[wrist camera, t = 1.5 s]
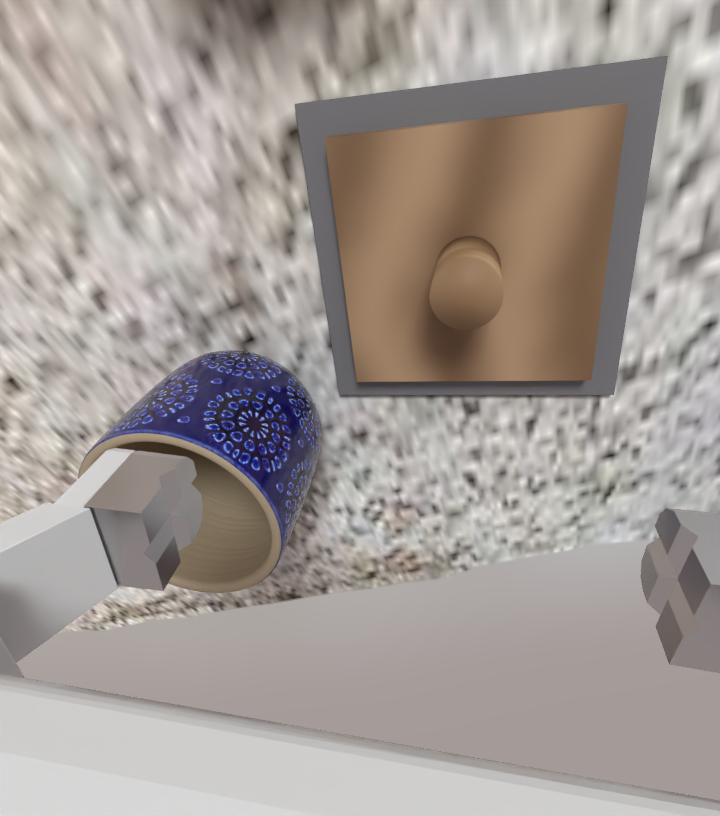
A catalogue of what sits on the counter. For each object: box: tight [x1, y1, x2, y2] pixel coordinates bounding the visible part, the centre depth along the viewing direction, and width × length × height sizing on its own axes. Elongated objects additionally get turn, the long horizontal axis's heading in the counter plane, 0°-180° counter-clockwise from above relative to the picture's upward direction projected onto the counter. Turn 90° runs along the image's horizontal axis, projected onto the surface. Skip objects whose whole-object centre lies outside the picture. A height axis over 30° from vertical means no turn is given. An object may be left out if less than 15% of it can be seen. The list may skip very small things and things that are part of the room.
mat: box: [295, 56, 668, 395], centre depth 27 cm, size 16×16×1 cm
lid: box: [325, 103, 628, 382], centre depth 25 cm, size 13×13×5 cm
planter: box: [78, 351, 322, 593], centre depth 31 cm, size 11×11×11 cm
